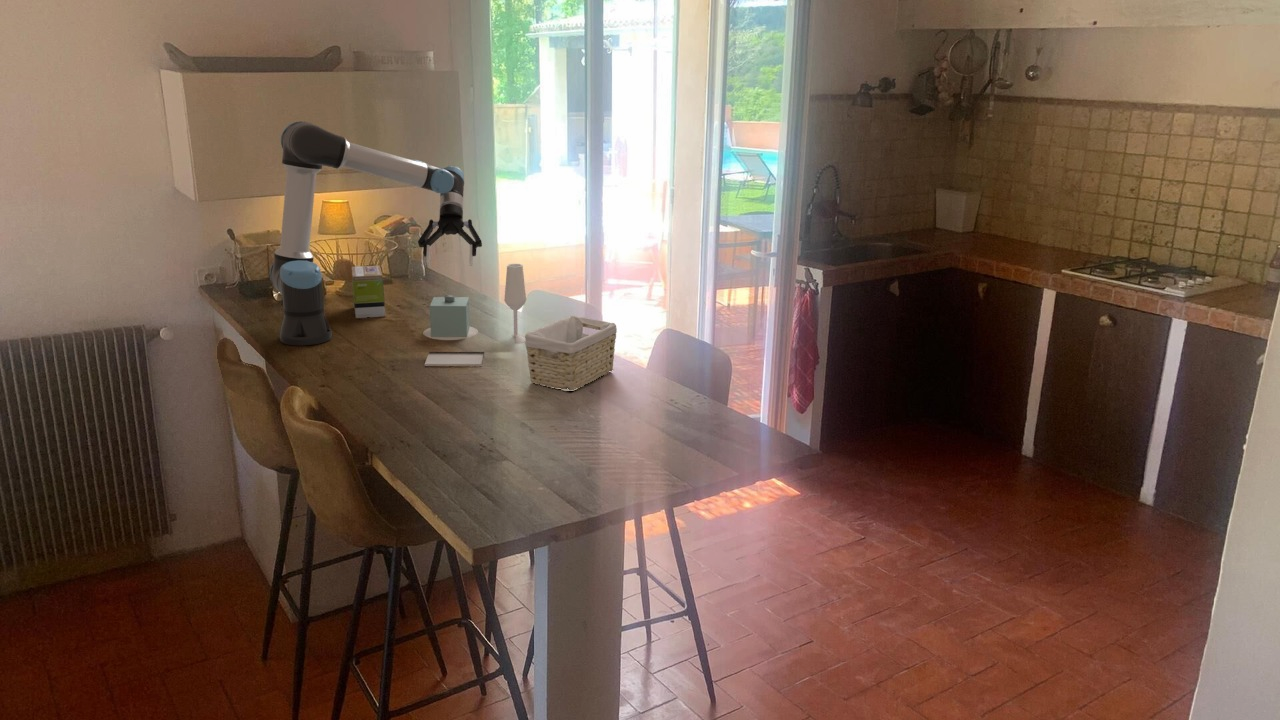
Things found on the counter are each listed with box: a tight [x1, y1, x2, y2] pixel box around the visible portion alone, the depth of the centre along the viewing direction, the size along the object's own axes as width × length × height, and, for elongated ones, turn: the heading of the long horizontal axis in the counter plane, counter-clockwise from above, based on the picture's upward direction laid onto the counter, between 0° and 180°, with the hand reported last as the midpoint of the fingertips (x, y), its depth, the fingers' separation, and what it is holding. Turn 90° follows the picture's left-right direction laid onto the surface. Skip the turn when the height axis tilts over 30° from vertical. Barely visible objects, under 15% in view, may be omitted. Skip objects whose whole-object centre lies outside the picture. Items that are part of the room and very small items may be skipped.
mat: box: [424, 351, 485, 368], centre depth 279 cm, size 16×16×1 cm
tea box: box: [350, 265, 386, 319], centre depth 322 cm, size 15×10×15 cm, turn 18°
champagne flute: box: [503, 263, 527, 344], centre depth 294 cm, size 7×7×24 cm
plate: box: [422, 326, 479, 341], centre depth 299 cm, size 17×17×5 cm
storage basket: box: [524, 315, 618, 390], centre depth 263 cm, size 24×16×15 cm
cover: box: [429, 294, 471, 337], centre depth 297 cm, size 11×11×12 cm
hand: (449, 264), depth 303 cm, fingers open, 13 cm apart
